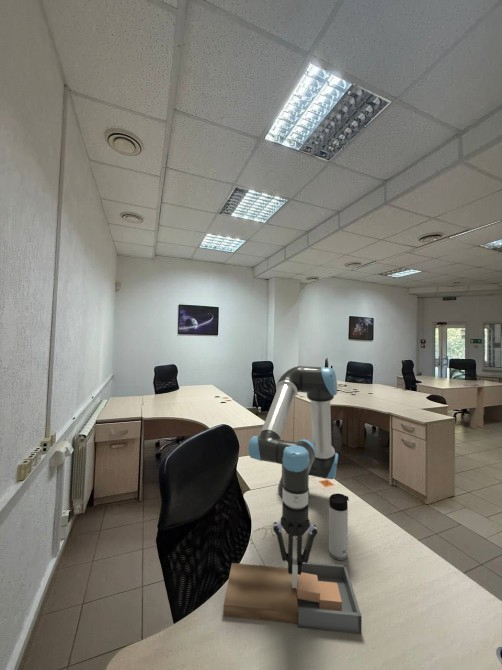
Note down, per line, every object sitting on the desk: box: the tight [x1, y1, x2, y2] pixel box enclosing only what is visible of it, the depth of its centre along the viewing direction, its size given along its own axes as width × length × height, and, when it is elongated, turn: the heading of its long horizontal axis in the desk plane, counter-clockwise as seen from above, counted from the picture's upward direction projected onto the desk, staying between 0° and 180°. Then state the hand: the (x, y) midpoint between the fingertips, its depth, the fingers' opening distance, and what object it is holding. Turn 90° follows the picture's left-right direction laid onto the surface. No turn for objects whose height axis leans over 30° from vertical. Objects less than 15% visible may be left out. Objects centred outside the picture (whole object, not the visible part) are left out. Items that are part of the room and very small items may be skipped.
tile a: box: [297, 572, 320, 602], centre depth 79 cm, size 6×6×2 cm
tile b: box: [318, 581, 342, 611], centre depth 79 cm, size 6×6×2 cm
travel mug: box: [328, 493, 350, 561], centre depth 97 cm, size 6×7×20 cm
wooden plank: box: [223, 562, 298, 624], centre depth 81 cm, size 14×20×3 cm
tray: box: [296, 561, 362, 635], centre depth 79 cm, size 16×16×4 cm
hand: (294, 583), depth 80 cm, fingers closed
